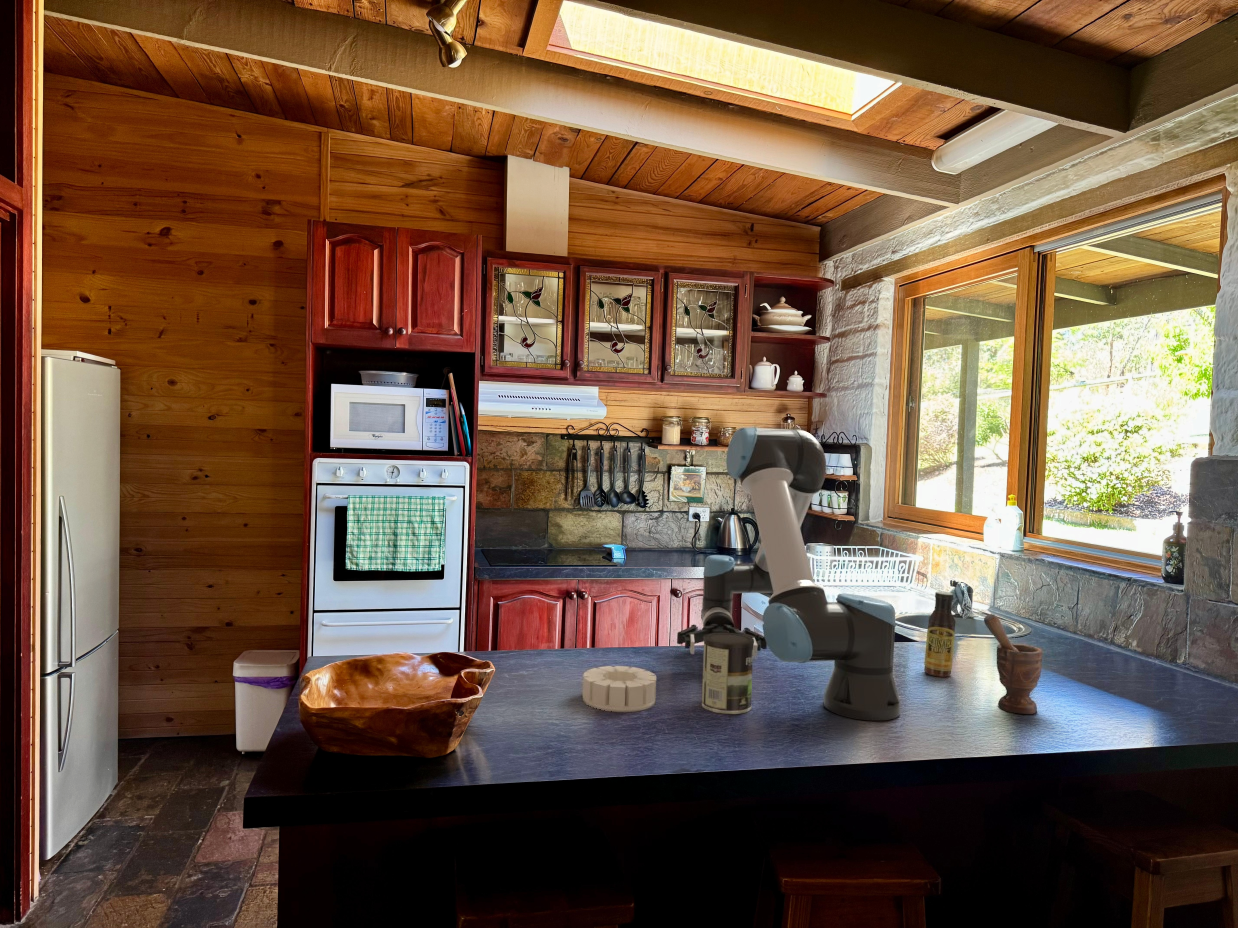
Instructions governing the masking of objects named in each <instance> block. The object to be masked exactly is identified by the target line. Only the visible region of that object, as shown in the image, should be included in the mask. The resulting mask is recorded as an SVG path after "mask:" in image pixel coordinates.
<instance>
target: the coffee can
mask: <svg viewBox="0 0 1238 928" xmlns="http://www.w3.org/2000/svg"><path fill="white" fill-rule="evenodd" d="M703 641H704V642H703V655H702V656H703V658H702V659H703V660H702V661H703V662H702V664H703V665H702V686H701V687H702V689H701V690H702V692H701V693H702V694H701V707H702V708H704V709H705V710H707V711H710V712H714V713H716V714H717V713H718V714H726V715H739V714H740V715H741V714H745V713H748V712H750V711H751V710H752V691H753V690H752V689H753V688H752V686H753V664H754V663H753V661H754V657H753V644H754V639H753V638H751V637H749V636H746V635H741V634H735V633H711V634H707V635H705V636H704V637H703Z"/></svg>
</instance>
